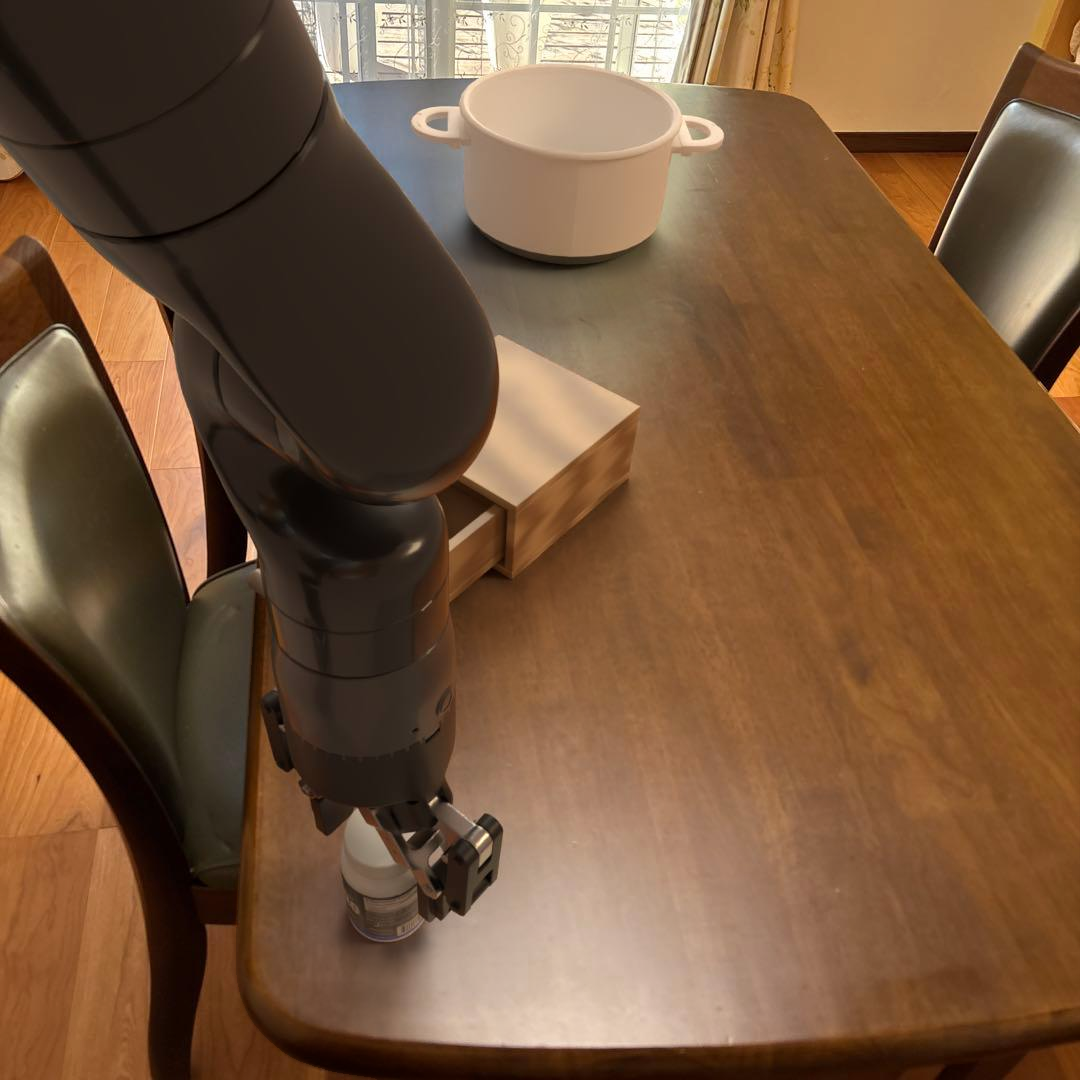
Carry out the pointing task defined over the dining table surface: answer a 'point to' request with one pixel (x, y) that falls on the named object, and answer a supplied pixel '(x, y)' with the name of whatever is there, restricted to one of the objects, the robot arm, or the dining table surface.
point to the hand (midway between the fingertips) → (385, 862)
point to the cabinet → (549, 451)
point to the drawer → (460, 537)
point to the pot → (566, 158)
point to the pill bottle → (377, 885)
